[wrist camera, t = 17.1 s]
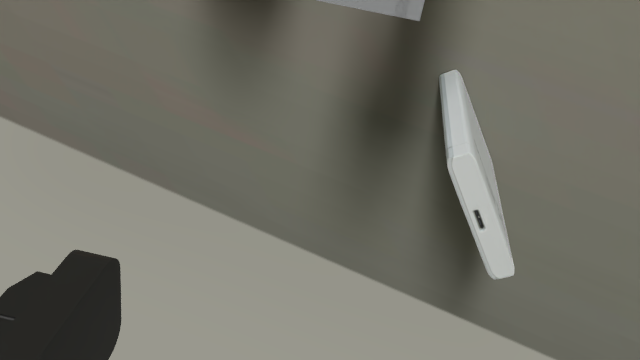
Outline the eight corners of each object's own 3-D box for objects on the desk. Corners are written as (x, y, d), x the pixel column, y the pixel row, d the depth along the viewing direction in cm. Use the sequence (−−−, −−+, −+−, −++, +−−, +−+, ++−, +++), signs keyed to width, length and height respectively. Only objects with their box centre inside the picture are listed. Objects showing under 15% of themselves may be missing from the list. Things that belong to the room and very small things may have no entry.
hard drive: (473, 173, 44) (488, 282, 34) (436, 75, 41) (440, 160, 31) (495, 167, 44) (518, 274, 33) (460, 66, 41) (472, 151, 30)
